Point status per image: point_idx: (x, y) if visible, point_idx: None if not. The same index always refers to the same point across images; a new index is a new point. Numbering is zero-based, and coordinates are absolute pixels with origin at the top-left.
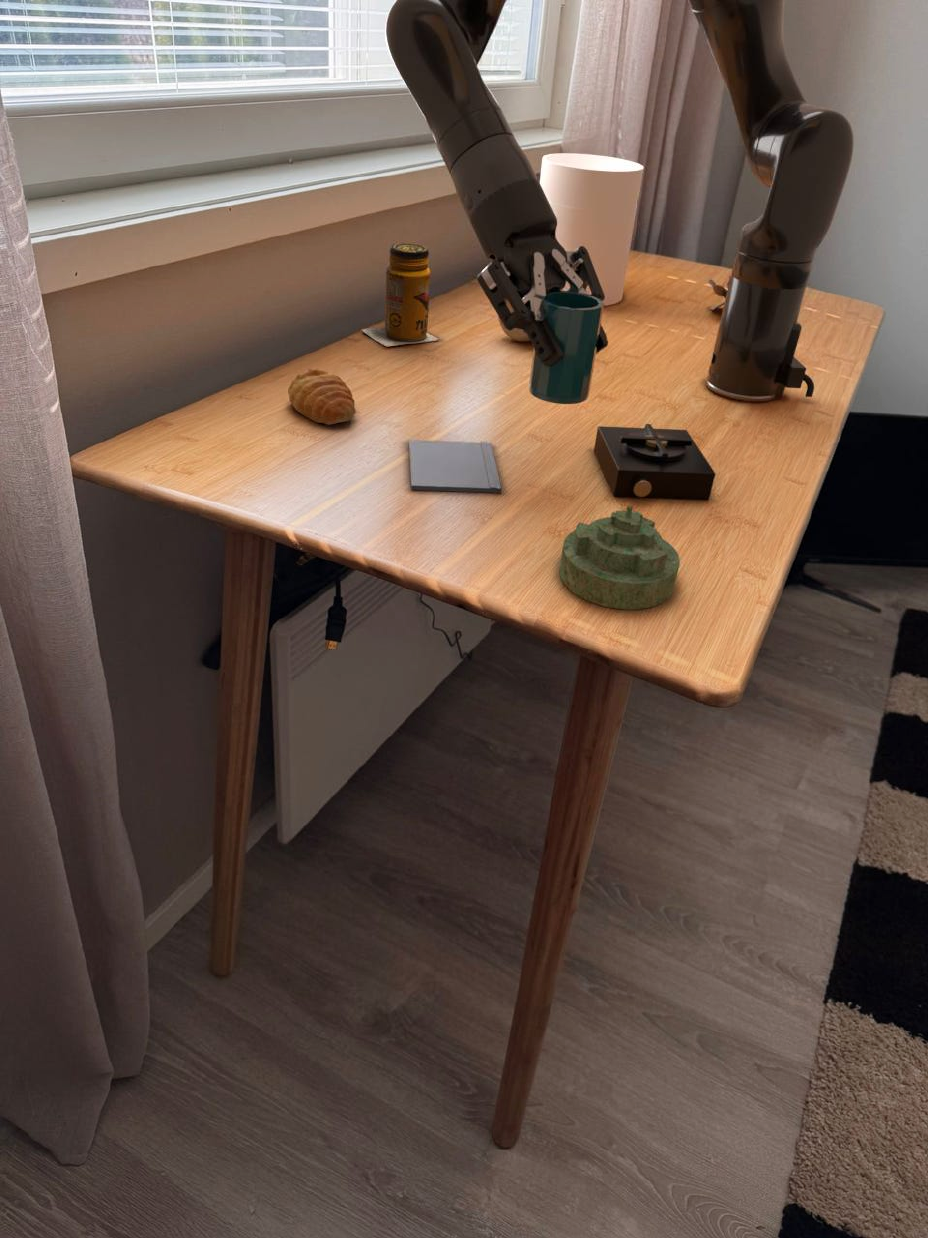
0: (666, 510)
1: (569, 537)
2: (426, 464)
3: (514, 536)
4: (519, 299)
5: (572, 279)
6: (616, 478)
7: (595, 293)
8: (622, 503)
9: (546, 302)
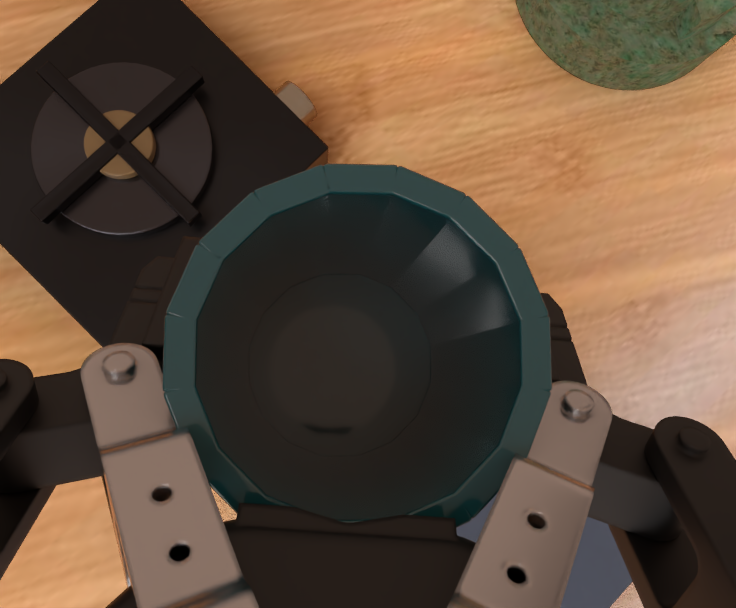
0: (287, 50)
1: (686, 54)
2: (574, 583)
3: (651, 217)
4: (711, 501)
5: (195, 483)
6: (324, 159)
7: (23, 401)
8: (338, 139)
9: (543, 411)
